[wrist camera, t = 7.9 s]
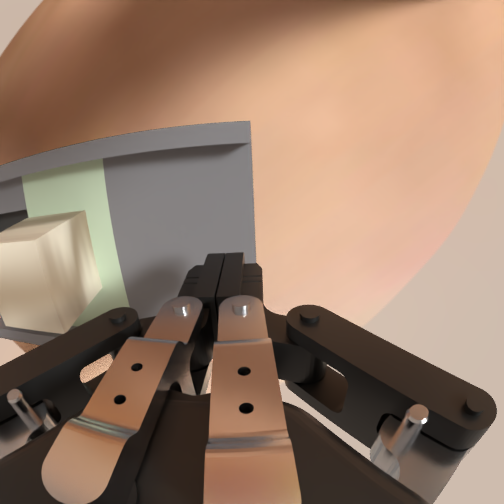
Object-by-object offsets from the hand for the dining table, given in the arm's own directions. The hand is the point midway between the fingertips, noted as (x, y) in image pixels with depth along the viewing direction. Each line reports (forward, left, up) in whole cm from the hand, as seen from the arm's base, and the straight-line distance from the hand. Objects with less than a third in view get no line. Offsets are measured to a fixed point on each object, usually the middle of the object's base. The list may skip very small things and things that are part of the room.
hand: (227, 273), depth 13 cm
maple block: (0, -11, -4) cm, 12 cm away
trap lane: (0, -10, -6) cm, 11 cm away
